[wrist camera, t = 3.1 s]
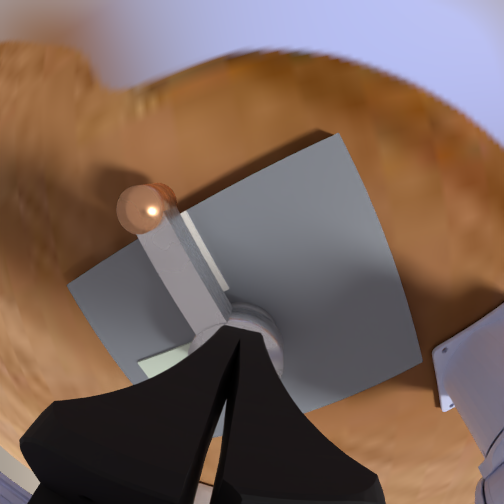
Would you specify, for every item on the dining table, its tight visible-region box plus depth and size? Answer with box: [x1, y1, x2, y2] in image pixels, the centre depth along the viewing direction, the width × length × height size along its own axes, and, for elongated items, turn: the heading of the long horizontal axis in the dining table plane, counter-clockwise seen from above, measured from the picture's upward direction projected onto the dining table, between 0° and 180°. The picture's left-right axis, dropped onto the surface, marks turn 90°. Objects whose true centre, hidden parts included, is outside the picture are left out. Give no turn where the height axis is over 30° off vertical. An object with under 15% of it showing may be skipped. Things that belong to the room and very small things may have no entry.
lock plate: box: [67, 133, 423, 438], centre depth 18 cm, size 20×16×2 cm
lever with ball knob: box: [116, 183, 283, 379], centre depth 15 cm, size 13×5×2 cm, turn 28°
